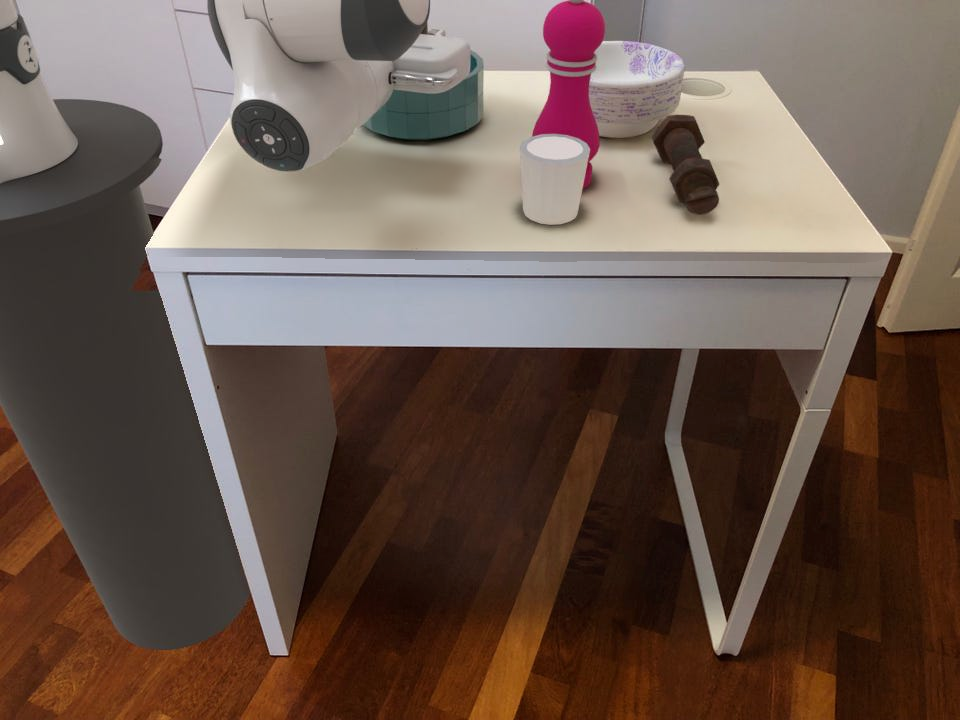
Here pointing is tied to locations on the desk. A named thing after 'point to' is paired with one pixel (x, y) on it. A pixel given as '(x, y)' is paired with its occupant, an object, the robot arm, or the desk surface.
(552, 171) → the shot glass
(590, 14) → the pepper mill
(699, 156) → the bolt
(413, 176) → the desk surface
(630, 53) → the paper bowls
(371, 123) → the bowl
